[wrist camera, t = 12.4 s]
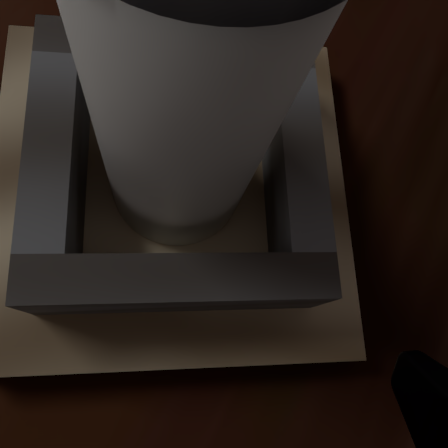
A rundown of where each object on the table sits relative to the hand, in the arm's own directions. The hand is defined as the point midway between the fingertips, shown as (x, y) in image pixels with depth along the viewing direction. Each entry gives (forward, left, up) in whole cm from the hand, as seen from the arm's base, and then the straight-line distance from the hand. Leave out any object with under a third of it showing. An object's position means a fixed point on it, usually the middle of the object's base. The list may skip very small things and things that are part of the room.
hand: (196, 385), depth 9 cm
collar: (+7, 0, -8) cm, 11 cm away
